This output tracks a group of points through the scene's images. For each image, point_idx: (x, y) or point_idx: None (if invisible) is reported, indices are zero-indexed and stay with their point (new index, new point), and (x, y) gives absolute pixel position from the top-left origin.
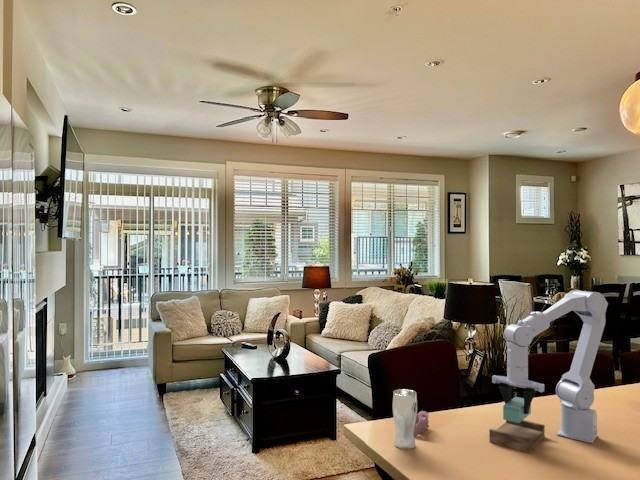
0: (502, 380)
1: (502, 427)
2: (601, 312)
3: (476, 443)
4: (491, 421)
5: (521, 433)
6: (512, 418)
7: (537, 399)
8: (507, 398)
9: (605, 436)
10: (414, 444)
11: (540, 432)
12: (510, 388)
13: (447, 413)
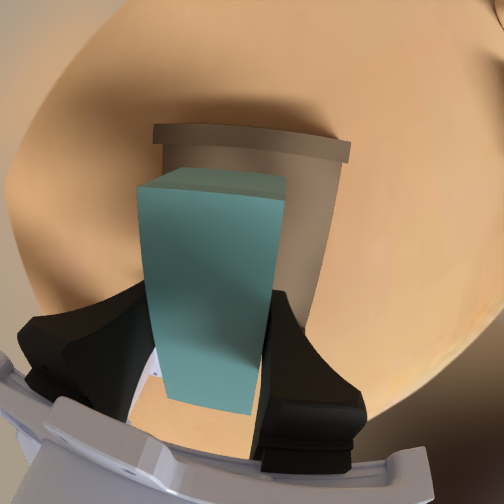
0: (320, 501)
1: (309, 267)
2: None
3: (379, 97)
4: (356, 343)
5: None
6: (218, 173)
7: None
8: (271, 341)
9: None
10: (500, 10)
11: None
12: (254, 440)
13: (474, 326)
